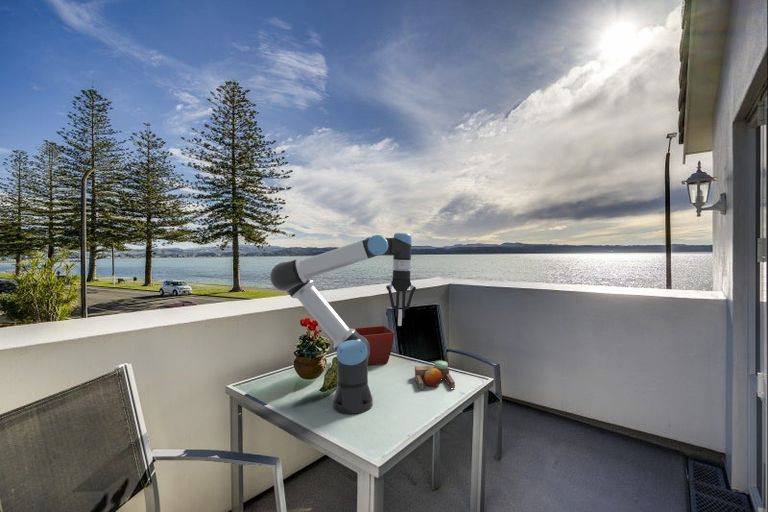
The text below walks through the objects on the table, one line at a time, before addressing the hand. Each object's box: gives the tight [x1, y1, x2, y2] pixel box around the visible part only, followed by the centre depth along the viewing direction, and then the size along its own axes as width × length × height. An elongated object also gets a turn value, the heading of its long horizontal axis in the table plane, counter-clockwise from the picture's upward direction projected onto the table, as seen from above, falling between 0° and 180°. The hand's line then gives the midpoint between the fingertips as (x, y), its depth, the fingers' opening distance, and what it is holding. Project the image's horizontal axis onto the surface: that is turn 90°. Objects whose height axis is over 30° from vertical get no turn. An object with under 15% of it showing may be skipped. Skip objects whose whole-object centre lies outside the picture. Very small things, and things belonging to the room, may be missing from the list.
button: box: [434, 360, 449, 369], centre depth 153 cm, size 6×6×7 cm
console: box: [414, 365, 450, 380], centre depth 153 cm, size 15×5×5 cm, turn 92°
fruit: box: [423, 368, 442, 387], centre depth 146 cm, size 8×8×8 cm
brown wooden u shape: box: [415, 372, 456, 391], centre depth 145 cm, size 15×10×3 cm
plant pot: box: [353, 325, 395, 366], centre depth 179 cm, size 19×19×17 cm
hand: (399, 325), depth 140 cm, fingers closed
